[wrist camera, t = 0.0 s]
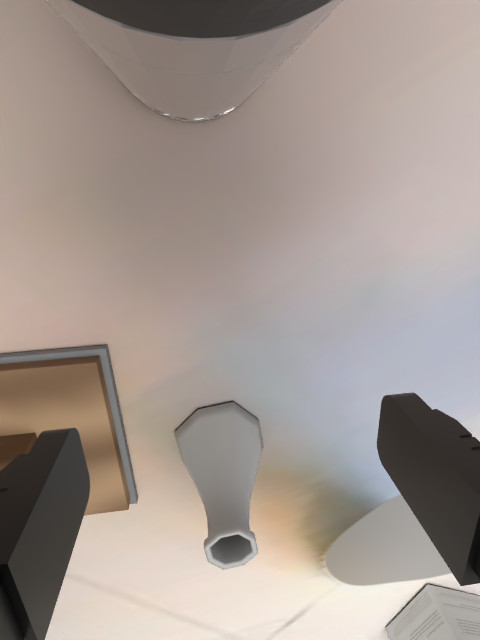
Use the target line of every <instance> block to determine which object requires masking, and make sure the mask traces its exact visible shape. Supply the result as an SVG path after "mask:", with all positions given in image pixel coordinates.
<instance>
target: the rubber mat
mask: <svg viewBox="0 0 480 640" xmlns="http://www.w3.org/2000/svg"><path fill="white" fill-rule="evenodd" d="M88 356H100V360H101V365H102V370H103V375H104V379H105V384H106V389H107V393H108V398H109V403H110V407H111V412H112V417H113V421H114V426H115V431H116V436H117V440H118V445H119V450H120V454H121V459H122V464H123V468H124V473H125V478H126V482H127V487H128V492H129V497H130V503H129V504H134V503H137V500H138V495H137V491H136V486H135V481H134V476H133V471H132V466H131V461H130V456H129V451H128V446H127V441H126V436H125V431H124V426H123V421H122V416H121V411H120V406H119V401H118V396H117V391H116V386H115V381H114V376H113V371H112V366H111V361H110V356H109V351H108V346H107V345H98V346H86V347H75V348H63V349H51V350H40V351H28V352H16V353H5V354H0V364H9V363H20V362H32V361H43V360H54V359H66V358H77V357H88Z"/></svg>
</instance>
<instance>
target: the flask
mask: <svg viewBox="0 0 480 640" xmlns="http://www.w3.org/2000/svg"><path fill="white" fill-rule="evenodd" d="M174 433H175V437H176V440H177V443H178V447H179V450H180V453H181V457H182V460H183V462H184V464H185V466H186V468H187V470H188V472H189V474H190V476H191V478H192V480H193V482H194V484H195V486H196V488H197V490H198V493H199V495H200V497H201V499H202V502H203V504H204V507H205V511H206V515H207V521H208V538H207V539H205V541H204V550H205V553H206V556H207V560H208V562H209V563H211V564H213V565H215V566H217V567H219V568H221V569H223V570H224V569H228V568H233V567H237V566H241V565H244V564H246V563H247V562H248V561H249V560H251V559H252V558H253V557H254V556H255V555H257V554H258V548H257V544H256V539H255V535H254V533H253V532H252V531H250V527H249V509H250V498H251V494H252V489H253V485H254V480H255V476H256V472H257V469H258V465H259V462H260V458H261V455H262V450H263V442H262V437H261V431H260V426H259V420H257V419H256V418H255V417H253V416H252V415H251V414H249V413H248V412H246V411H245V410H244V409H242V408H241V407H239V406H238V405H237V404H235V403H234V402H231V403H226V404H221V405H217V406H212V407H207V408H203V409H198V410H197V411H196V412H195V413H194V414H193V415H192V416H191V417H190V418H189V419H187V420H186V421H185V422H184V423H183V424H182V425H181V426H180V427H179V428H178V429H177V430H176V431H175V432H174Z"/></svg>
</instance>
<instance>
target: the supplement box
mask: <svg viewBox="0 0 480 640" xmlns="http://www.w3.org/2000/svg"><path fill="white" fill-rule="evenodd" d="M386 631H387V633H388V636H389V638H390V640H480V596H478V595H473V594H469V593H464V592H460V591H456V590H451V589H447V588H442V587H438V586H434V585H429V584H428V585H426V587H425V588H424V589H423V590H422V591H421V592H420V593H419V594H418V595H417V596H416V597H415V598H414V599H413V600H412V601H411V602H410V603H409V604H408V605H407V606H406V607H405V608H404V609H403V610H402V612H401V613H400V614H399V615H398V616H397V617H396V618H395V619H394V620H393V621H392V622H391V623H390V624H389V625H388V626H387V627H386Z"/></svg>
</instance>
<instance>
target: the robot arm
mask: <svg viewBox="0 0 480 640" xmlns="http://www.w3.org/2000/svg"><path fill="white" fill-rule="evenodd" d="M46 1H47V2H48V4H49V5H50V6H51V7H52V8H53V9H54V10H55V11H56V12H57V13H58V14H59V15H60V16H61V17H62V18H63V19H64V21H65V22H66V23H67V24H68V25H69V26H70V27H71V28H72V29H73V30H74V31H75V32H76V33H77V35H78V36H79V37H80V38H81V39H82V40H83V41H84V42H85V43H86V44H87V45H88V46H89V47H90V49H91V50H92V51H93V52H94V53H95V54H96V55H97V56H98V57H99V58H100V59H101V60H102V62H103V63H104V64H105V65H106V66H107V67H108V68H109V69H110V70H111V71H112V72H113V73H114V74H115V76H116V77H117V78H118V79H119V80H120V81H121V82H122V83H123V84H124V85H125V86H126V88H127V89H128V90H129V91H130V92H131V93H132V94H133V95H135V96H136V97H137V98H138V99H139V100H140V101H141V102H142V103H144V104H145V105H146V106H147V107H149V108H151V109H152V110H154V111H156V112H158V113H159V114H161V115H163V116H166V117H169V118H172V119H175V120H179V121H189V122H200V121H206V120H213V119H215V118H218V117H220V116H222V115H225V114H227V113H229V112H230V111H232V110H233V109H235V108H236V107H237V106H239V105H240V104H242V103H243V102H244V101H245V100H246V99H247V98H248V97H249V95H251V94H252V93H253V92H254V91H255V90H256V89H257V88H258V87H259V86H260V85H261V84H262V83H263V82H264V81H265V80H266V79H267V78H268V77H269V76H270V75H271V74H272V73H273V72H274V70H275V69H276V68H277V67H278V66H279V65H280V64H281V63H282V62H283V61H284V60H285V59H286V58H287V57H288V56H289V55H290V54H291V53H292V52H293V51H294V50H295V49H296V48H297V47H298V46H299V45H300V44H301V43H302V42H303V41H304V40H305V39H306V38H307V37H308V36H309V35H310V34H311V33H312V32H313V31H314V30H315V29H316V28H317V27H318V26H319V25H320V24H321V23H322V21H323V20H324V19H325V18H326V17H327V16H328V15H329V14H330V13H331V12H332V11H333V10H334V9H335V8H336V7H337V5H338V4H339V3H340V2H341V1H342V0H46ZM377 449H378V454H379V458H380V460H381V463H382V465H383V467H384V468H385V470H386V471H387V473H388V474H389V476H390V477H391V479H392V481H393V482H394V484H395V485H396V487H397V488H398V490H399V491H400V493H401V494H402V496H403V498H404V499H405V501H406V502H407V503H408V505H409V507H410V508H411V510H412V511H413V513H414V515H415V516H416V517H417V519H418V521H419V522H420V524H421V525H422V527H423V528H424V530H425V532H426V533H427V534H428V536H429V538H430V539H431V541H432V542H433V544H434V545H435V547H436V548H437V550H438V552H439V553H440V554H441V556H442V558H443V559H444V561H445V562H446V564H447V565H448V567H449V568H450V570H451V571H452V573H453V575H454V576H455V578H456V579H457V581H458V582H459V584H460V586H464V585H471V584H477V583H480V442H479V441H478V440H477V439H476V438H475V437H472V434H471V433H470V432H469V431H468V430H467V429H466V428H464V427H463V426H462V425H461V424H460V423H459V422H458V421H457V420H455V419H454V418H452V417H450V416H448V415H446V414H445V413H443V412H441V411H439V410H437V409H434V410H432V409H431V408H430V407H429V406H428V405H427V404H426V403H425V402H424V401H423V400H422V399H421V398H420V397H419V396H418V395H417V394H415V393H404V394H395V395H386V396H384V397H383V399H382V403H381V411H380V420H379V429H378V438H377ZM89 494H90V477H89V472H88V468H87V464H86V459H85V455H84V451H83V447H82V443H81V439H80V435H79V432H78V430H77V429H76V428H66V429H56V430H47V431H42V432H41V433H40V435H39V436H38V438H37V440H36V441H35V443H34V445H33V447H32V448H31V450H30V452H29V454H20V455H18V456H17V457H16V458H15V459H14V460H12V461H11V462H10V463H9V464H8V465H7V466H6V467H4V468H3V469H2V470H1V471H0V640H45V637H46V633H47V630H48V627H49V624H50V621H51V617H52V614H53V611H54V608H55V605H56V602H57V598H58V595H59V592H60V589H61V586H62V583H63V579H64V576H65V573H66V570H67V567H68V564H69V560H70V557H71V554H72V551H73V548H74V545H75V541H76V538H77V535H78V532H79V529H80V526H81V522H82V519H83V516H84V513H85V510H86V507H87V503H88V500H89Z"/></svg>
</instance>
